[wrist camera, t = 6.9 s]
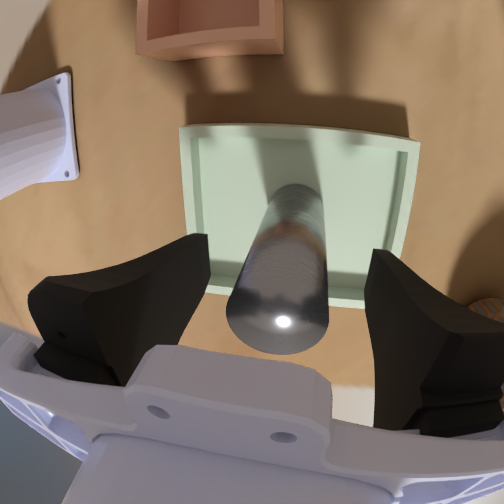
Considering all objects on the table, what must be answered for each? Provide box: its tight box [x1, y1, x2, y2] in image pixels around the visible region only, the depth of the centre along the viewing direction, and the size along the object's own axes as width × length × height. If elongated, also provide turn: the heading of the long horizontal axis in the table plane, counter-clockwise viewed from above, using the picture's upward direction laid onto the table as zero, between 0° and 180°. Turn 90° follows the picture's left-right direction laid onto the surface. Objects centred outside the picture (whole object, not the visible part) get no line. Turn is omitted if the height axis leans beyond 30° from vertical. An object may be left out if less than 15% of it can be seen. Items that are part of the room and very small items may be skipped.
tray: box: [179, 123, 420, 309], centre depth 16 cm, size 12×10×2 cm
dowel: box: [226, 184, 329, 355], centre depth 12 cm, size 3×3×9 cm
